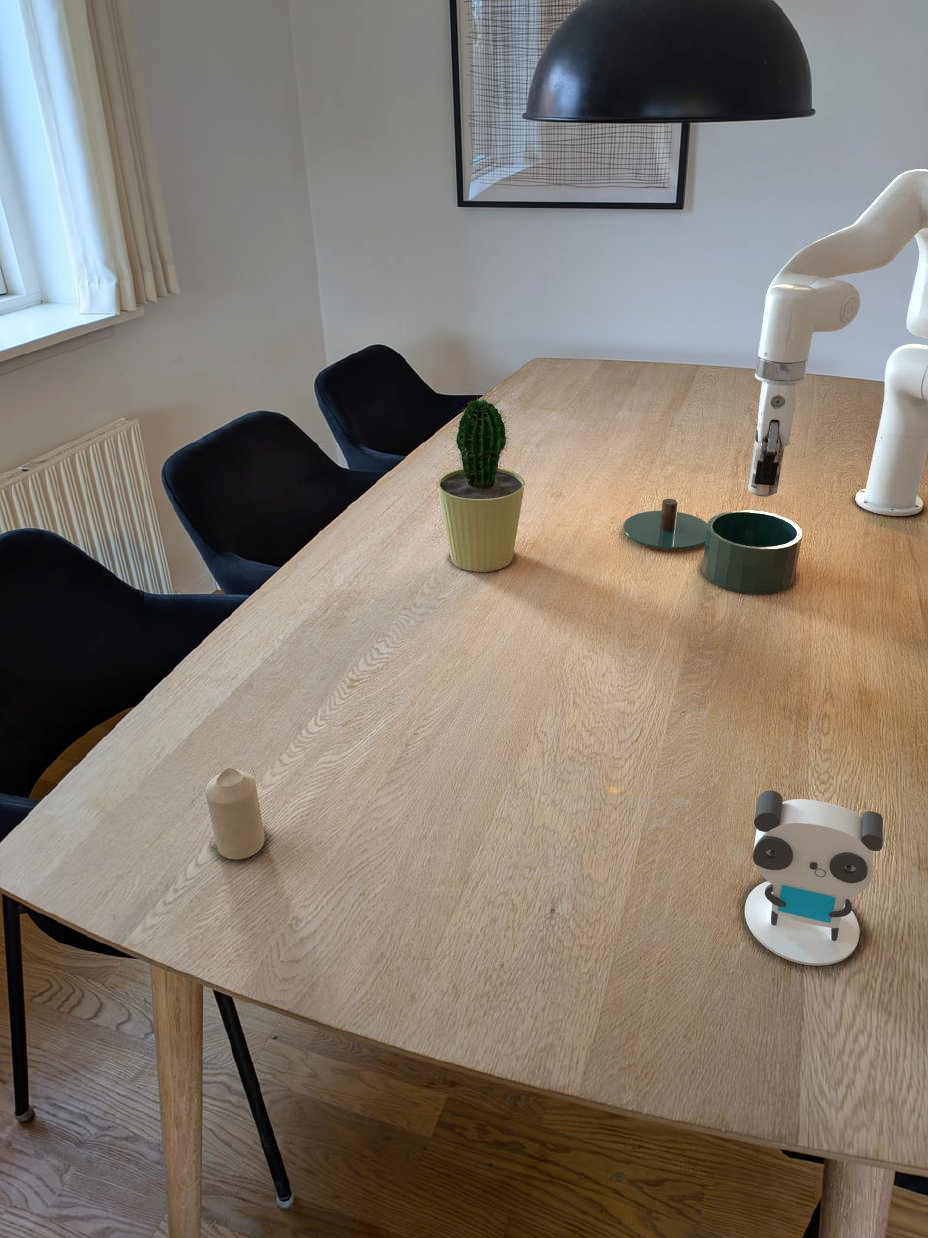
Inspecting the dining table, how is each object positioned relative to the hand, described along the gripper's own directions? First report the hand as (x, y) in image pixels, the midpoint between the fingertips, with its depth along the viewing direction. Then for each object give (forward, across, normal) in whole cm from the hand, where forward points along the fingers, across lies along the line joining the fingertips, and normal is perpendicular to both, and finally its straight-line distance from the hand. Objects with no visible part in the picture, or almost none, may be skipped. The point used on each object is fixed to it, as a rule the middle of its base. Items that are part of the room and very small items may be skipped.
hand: (764, 476), depth 156 cm
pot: (+18, 0, 0) cm, 18 cm away
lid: (+17, +13, +15) cm, 27 cm away
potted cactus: (+18, -5, +47) cm, 51 cm away
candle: (+18, -83, +56) cm, 102 cm away
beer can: (+3, 0, 0) cm, 3 cm away
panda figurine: (+18, -79, -6) cm, 81 cm away
